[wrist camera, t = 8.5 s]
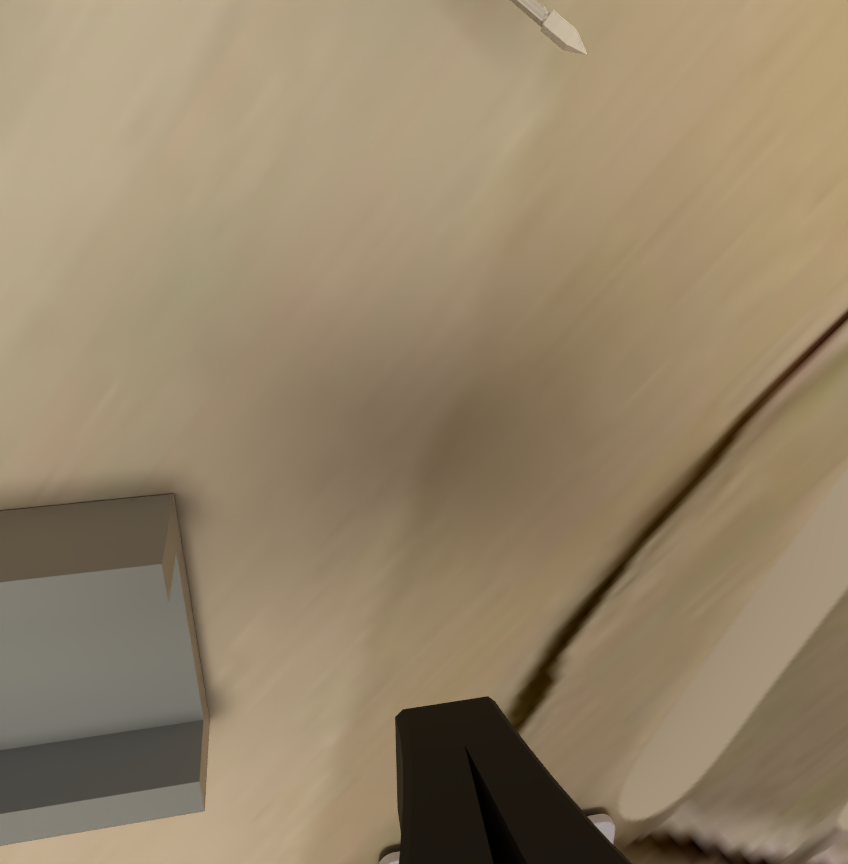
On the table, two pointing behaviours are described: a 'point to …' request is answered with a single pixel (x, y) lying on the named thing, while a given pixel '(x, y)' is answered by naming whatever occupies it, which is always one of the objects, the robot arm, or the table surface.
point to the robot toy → (553, 26)
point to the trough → (97, 670)
